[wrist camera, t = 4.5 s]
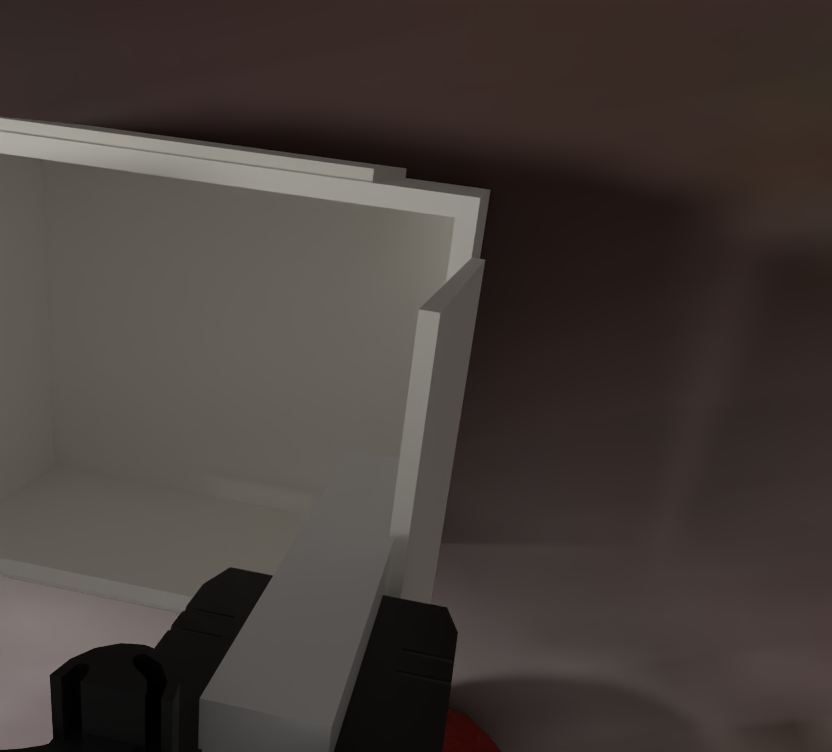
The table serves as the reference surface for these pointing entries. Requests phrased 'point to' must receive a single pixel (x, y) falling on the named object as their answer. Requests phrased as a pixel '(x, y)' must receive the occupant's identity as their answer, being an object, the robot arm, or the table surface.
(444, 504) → the flap
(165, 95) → the table surface
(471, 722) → the apple
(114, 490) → the carton
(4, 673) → the table surface
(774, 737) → the table surface
